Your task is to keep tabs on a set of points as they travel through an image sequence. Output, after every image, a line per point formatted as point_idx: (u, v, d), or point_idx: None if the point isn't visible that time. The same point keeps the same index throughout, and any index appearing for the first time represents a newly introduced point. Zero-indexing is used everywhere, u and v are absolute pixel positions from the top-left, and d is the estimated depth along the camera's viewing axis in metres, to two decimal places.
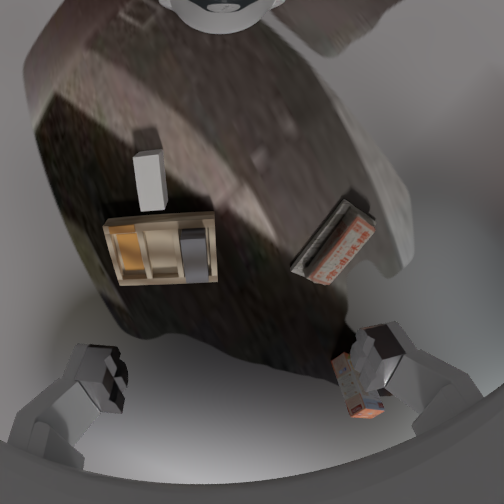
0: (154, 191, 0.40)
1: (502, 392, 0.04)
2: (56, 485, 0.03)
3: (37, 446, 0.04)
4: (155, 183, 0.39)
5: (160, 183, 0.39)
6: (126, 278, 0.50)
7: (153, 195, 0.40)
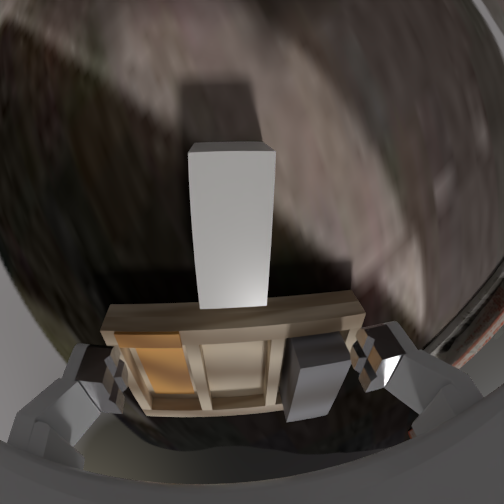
0: (247, 260, 0.15)
1: (502, 392, 0.04)
2: (56, 485, 0.03)
3: (37, 446, 0.04)
4: (252, 237, 0.14)
5: (268, 239, 0.14)
6: (159, 407, 0.23)
7: (241, 270, 0.15)
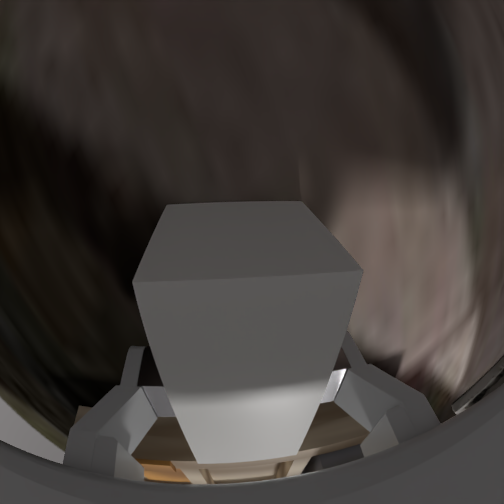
0: (274, 429, 0.07)
1: (502, 392, 0.04)
2: (56, 485, 0.03)
3: (104, 464, 0.04)
4: (287, 408, 0.07)
5: (313, 406, 0.07)
6: None
7: (262, 437, 0.08)
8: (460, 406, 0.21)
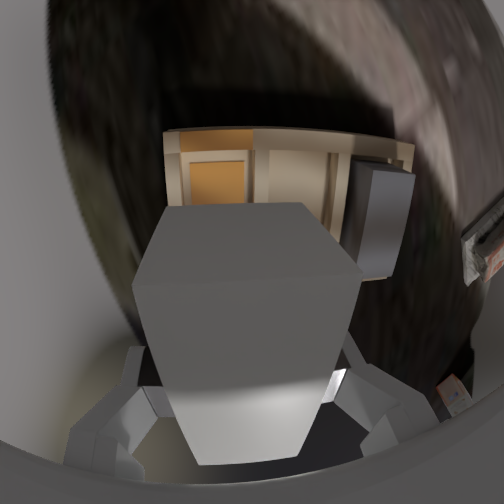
0: (274, 430, 0.07)
1: (502, 392, 0.04)
2: (56, 485, 0.03)
3: (104, 464, 0.04)
4: (287, 410, 0.07)
5: (313, 408, 0.07)
6: None
7: (263, 438, 0.08)
8: (469, 237, 0.27)
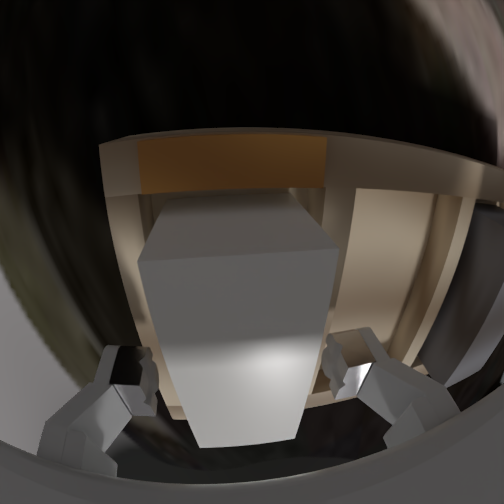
0: (270, 408, 0.08)
1: (502, 392, 0.04)
2: (56, 485, 0.03)
3: (73, 457, 0.04)
4: (280, 385, 0.07)
5: (305, 384, 0.08)
6: None
7: (259, 417, 0.08)
8: None
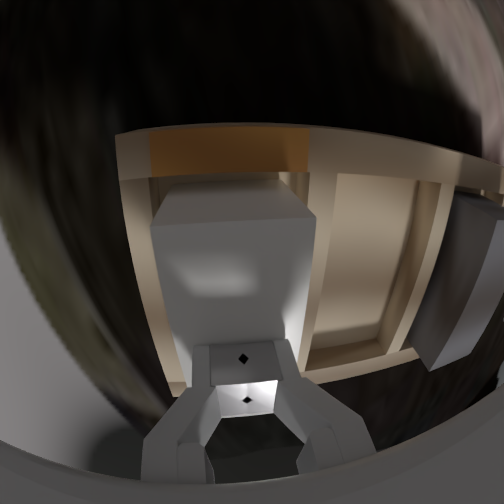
0: None
1: (502, 392, 0.04)
2: (56, 485, 0.03)
3: (192, 472, 0.04)
4: None
5: (294, 348, 0.09)
6: None
7: None
8: None
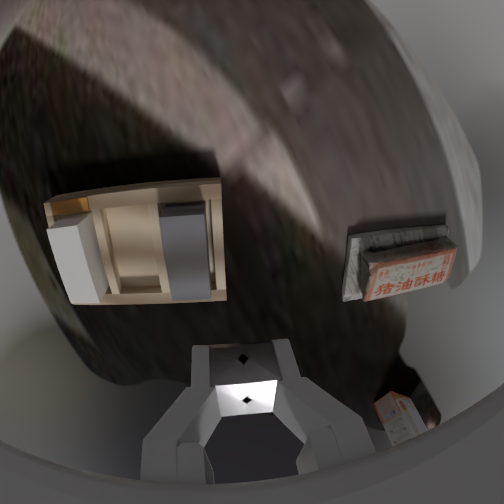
0: (82, 278, 0.25)
1: (502, 392, 0.04)
2: (56, 485, 0.03)
3: (192, 473, 0.04)
4: (80, 266, 0.24)
5: (87, 267, 0.24)
6: None
7: (81, 283, 0.25)
8: (357, 236, 0.32)
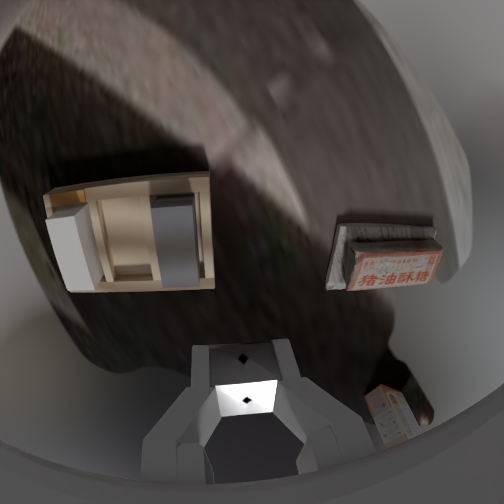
0: (78, 266, 0.26)
1: (502, 392, 0.04)
2: (56, 485, 0.03)
3: (192, 472, 0.04)
4: (76, 255, 0.25)
5: (83, 256, 0.26)
6: None
7: (77, 271, 0.26)
8: (346, 225, 0.33)
